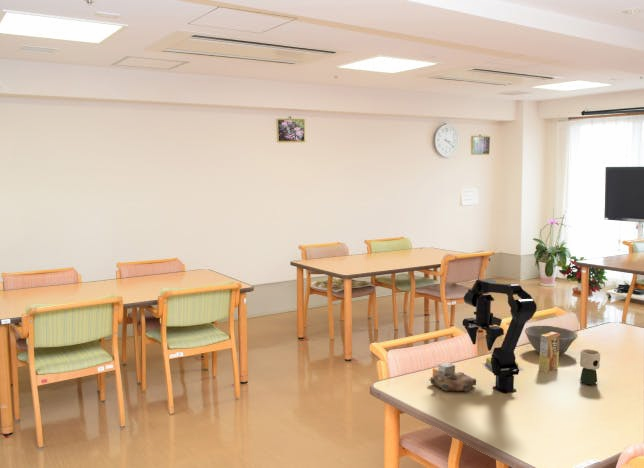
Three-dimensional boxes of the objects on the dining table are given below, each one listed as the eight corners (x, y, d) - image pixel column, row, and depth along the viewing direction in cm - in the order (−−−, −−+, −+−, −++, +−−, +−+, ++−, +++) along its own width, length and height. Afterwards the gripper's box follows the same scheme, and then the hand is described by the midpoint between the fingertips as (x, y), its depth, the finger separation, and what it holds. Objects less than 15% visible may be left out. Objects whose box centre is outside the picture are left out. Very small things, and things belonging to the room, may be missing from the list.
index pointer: (441, 377, 246) (441, 369, 245) (436, 378, 245) (436, 370, 244) (437, 375, 248) (437, 367, 248) (432, 376, 247) (432, 368, 247)
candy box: (549, 365, 263) (551, 331, 261) (558, 368, 259) (560, 333, 258) (538, 370, 257) (540, 334, 255) (547, 372, 254) (549, 337, 252)
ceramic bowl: (513, 349, 286) (514, 328, 285) (549, 343, 296) (551, 323, 295) (548, 363, 266) (550, 341, 265) (586, 356, 276) (588, 335, 275)
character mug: (592, 389, 236) (594, 356, 234) (573, 384, 241) (575, 352, 239) (603, 382, 243) (605, 350, 242) (585, 377, 248) (587, 346, 247)
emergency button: (482, 354, 264) (516, 354, 265) (482, 364, 265) (515, 364, 266) (489, 361, 255) (524, 361, 256) (489, 371, 256) (523, 371, 257)
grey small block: (454, 375, 240) (455, 365, 239) (444, 377, 238) (444, 367, 237) (448, 372, 243) (448, 362, 243) (438, 374, 241) (438, 364, 241)
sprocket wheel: (471, 377, 244) (472, 362, 243) (479, 391, 228) (480, 376, 228) (428, 375, 245) (429, 361, 244) (433, 390, 229) (433, 374, 229)
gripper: (515, 313, 241) (513, 351, 243) (483, 303, 258) (481, 339, 259) (493, 315, 236) (491, 354, 238) (462, 305, 253) (460, 342, 254)
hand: (481, 347), depth 248 cm, fingers open, 9 cm apart
